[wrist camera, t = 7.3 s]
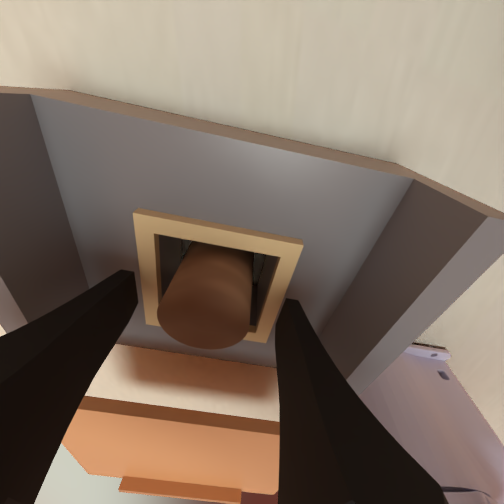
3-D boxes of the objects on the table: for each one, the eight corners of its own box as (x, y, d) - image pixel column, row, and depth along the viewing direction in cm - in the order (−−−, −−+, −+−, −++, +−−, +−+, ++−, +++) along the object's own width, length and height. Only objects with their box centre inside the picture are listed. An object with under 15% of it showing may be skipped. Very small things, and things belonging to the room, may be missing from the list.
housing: (397, 164, 11) (531, 225, 6) (307, 332, 19) (324, 429, 13) (69, 90, 10) (-174, 75, 5) (115, 300, 18) (47, 392, 12)
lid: (332, 429, 13) (339, 462, 11) (272, 485, 20) (273, 508, 19) (36, 389, 11) (11, 421, 10) (93, 464, 19) (82, 487, 18)
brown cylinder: (260, 227, 14) (257, 298, 9) (248, 275, 16) (241, 355, 11) (195, 214, 13) (154, 280, 8) (192, 265, 16) (158, 342, 11)
